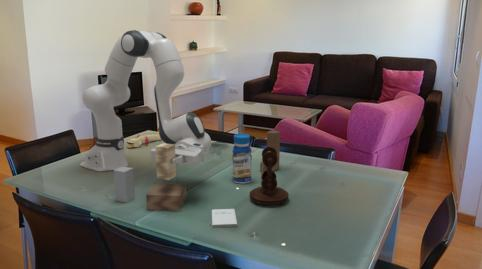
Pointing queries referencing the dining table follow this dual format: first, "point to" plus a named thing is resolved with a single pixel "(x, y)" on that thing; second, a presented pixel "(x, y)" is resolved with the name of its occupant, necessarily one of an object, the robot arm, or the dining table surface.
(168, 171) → the maple block
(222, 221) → the external hard drive
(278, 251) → the dining table surface
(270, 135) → the wooden block
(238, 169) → the beverage bottle
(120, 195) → the grey block
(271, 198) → the dark brown tall piece
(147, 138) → the cat figure
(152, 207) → the walnut base block
